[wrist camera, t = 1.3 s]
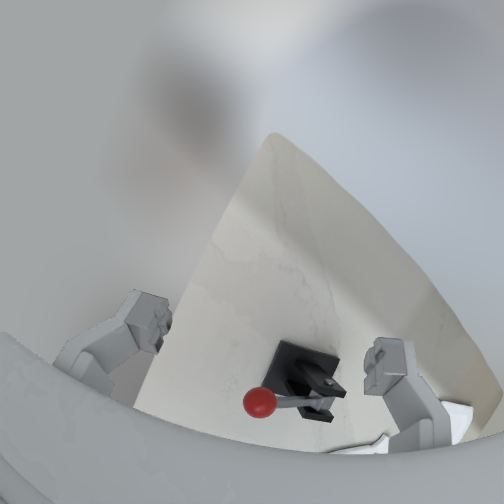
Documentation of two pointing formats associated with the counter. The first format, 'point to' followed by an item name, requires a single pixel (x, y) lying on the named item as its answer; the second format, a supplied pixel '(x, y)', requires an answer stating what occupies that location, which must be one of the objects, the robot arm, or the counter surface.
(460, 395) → the counter surface
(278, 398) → the lever
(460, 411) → the plate
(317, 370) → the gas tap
